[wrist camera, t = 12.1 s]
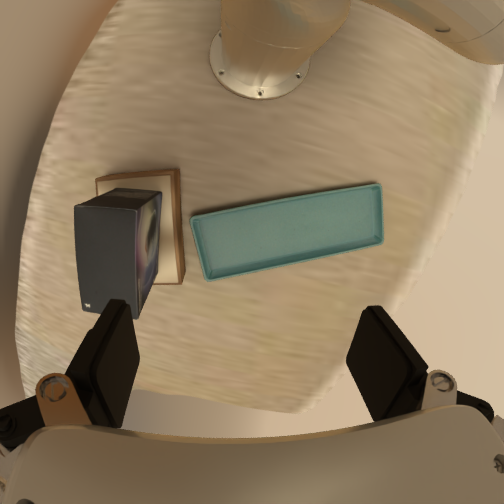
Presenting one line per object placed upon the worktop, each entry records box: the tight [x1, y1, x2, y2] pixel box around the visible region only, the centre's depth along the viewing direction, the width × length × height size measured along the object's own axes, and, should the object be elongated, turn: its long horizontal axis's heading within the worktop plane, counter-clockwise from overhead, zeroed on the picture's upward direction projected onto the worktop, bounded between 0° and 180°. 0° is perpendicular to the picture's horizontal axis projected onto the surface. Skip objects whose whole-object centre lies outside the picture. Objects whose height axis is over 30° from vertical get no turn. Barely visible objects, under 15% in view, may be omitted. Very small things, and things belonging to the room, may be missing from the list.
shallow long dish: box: [190, 183, 384, 282], centre depth 37 cm, size 26×9×2 cm, turn 100°
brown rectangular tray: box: [95, 169, 186, 285], centre depth 33 cm, size 14×10×4 cm
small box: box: [74, 188, 162, 320], centre depth 27 cm, size 11×6×10 cm, turn 171°
